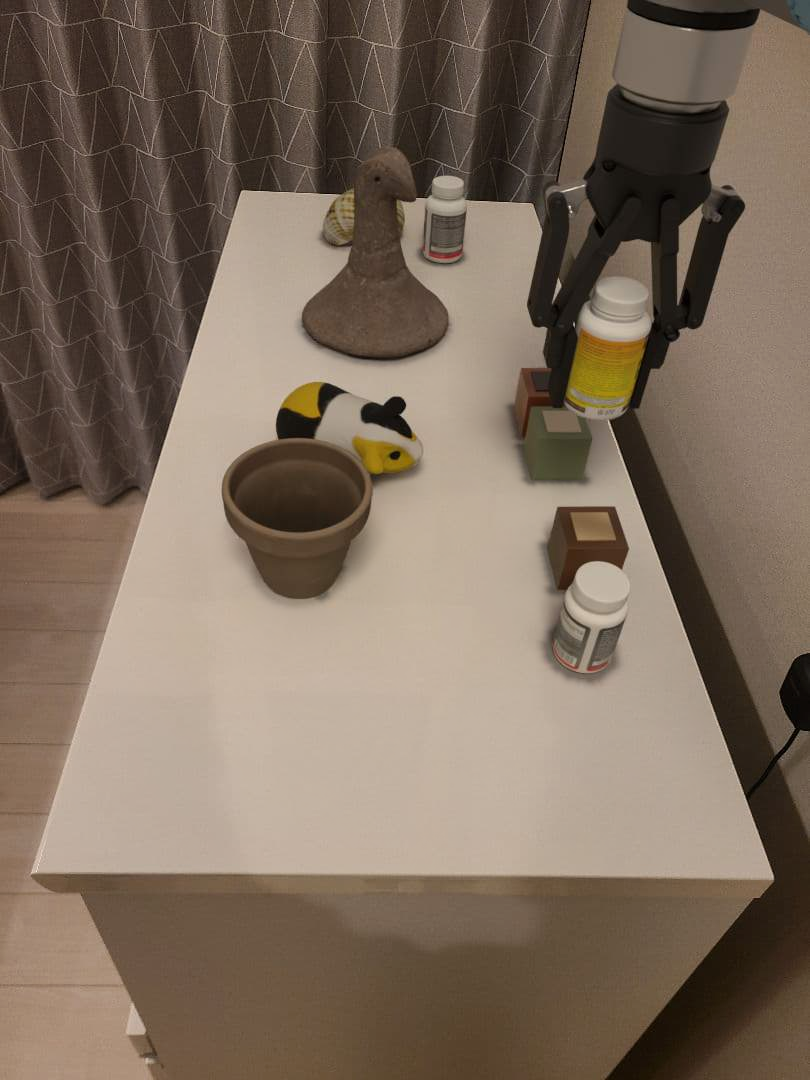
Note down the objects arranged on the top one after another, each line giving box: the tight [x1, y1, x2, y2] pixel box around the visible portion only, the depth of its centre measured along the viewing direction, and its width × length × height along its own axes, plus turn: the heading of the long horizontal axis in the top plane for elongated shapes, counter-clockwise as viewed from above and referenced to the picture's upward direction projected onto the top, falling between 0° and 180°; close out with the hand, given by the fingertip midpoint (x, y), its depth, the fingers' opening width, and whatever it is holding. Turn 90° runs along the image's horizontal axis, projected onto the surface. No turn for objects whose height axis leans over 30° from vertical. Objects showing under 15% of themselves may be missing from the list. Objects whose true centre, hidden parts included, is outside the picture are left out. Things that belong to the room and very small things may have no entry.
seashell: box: [322, 187, 406, 246], centre depth 112 cm, size 10×10×10 cm
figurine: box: [275, 381, 424, 475], centre depth 78 cm, size 8×15×8 cm, turn 64°
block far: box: [523, 406, 594, 480], centre depth 80 cm, size 5×5×5 cm
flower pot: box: [221, 438, 374, 599], centre depth 67 cm, size 12×11×10 cm
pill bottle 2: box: [551, 561, 632, 674], centre depth 63 cm, size 5×5×8 cm
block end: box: [513, 367, 566, 438], centre depth 85 cm, size 5×5×5 cm
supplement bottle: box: [564, 275, 653, 422], centre depth 64 cm, size 6×6×10 cm
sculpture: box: [301, 145, 449, 359], centre depth 92 cm, size 17×17×20 cm
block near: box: [547, 505, 630, 591], centre depth 70 cm, size 5×5×5 cm
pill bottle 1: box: [422, 175, 468, 264], centre depth 108 cm, size 5×5×10 cm
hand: (592, 398), depth 68 cm, fingers closed on supplement bottle, 6 cm apart
